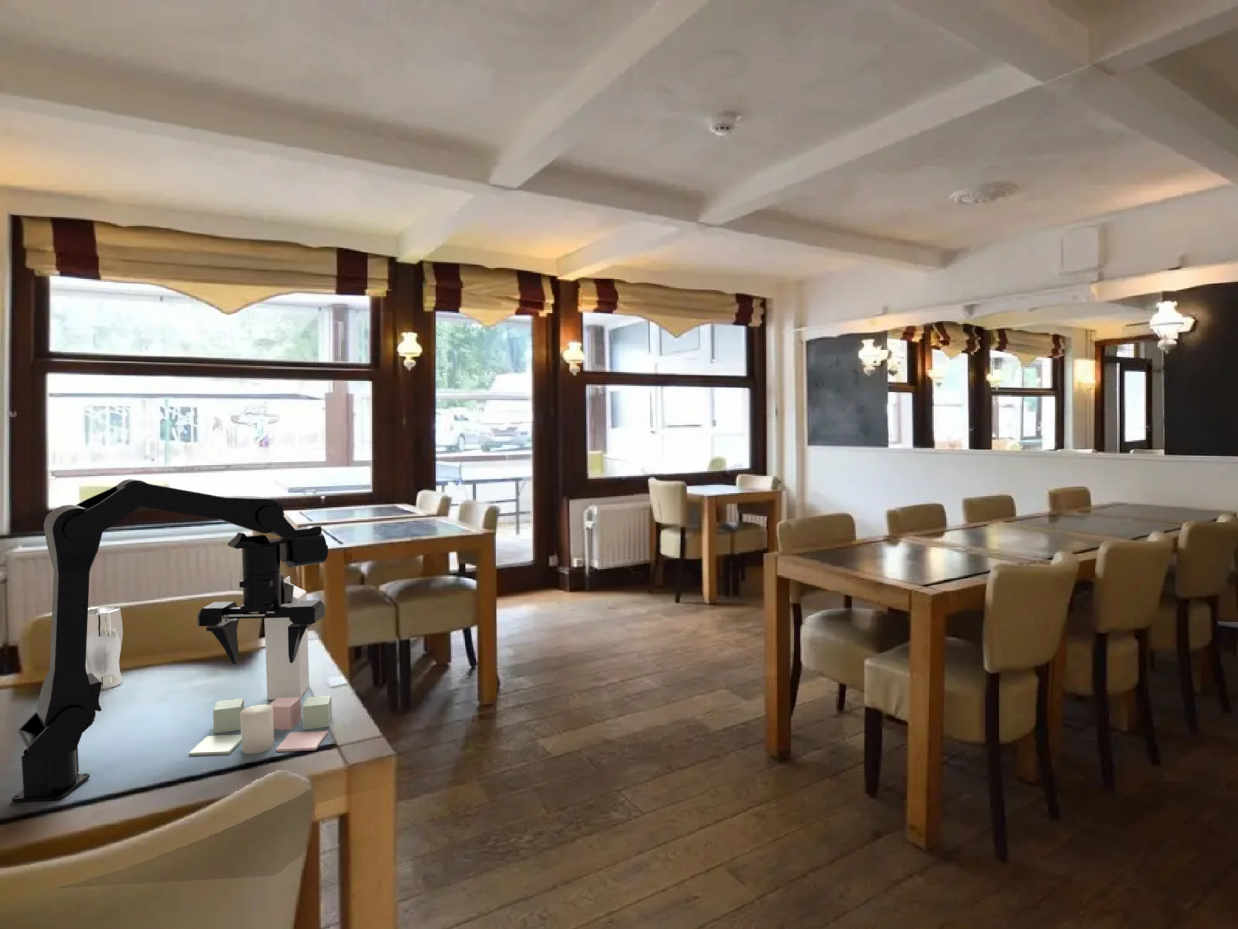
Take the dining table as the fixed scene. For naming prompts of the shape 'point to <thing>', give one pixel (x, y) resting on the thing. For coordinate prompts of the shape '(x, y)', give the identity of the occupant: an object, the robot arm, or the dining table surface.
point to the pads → (290, 743)
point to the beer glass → (104, 644)
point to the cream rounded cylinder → (257, 729)
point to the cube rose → (286, 712)
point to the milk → (285, 656)
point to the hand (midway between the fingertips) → (264, 663)
